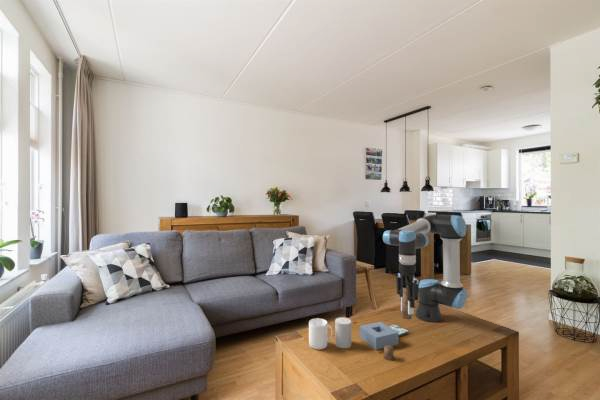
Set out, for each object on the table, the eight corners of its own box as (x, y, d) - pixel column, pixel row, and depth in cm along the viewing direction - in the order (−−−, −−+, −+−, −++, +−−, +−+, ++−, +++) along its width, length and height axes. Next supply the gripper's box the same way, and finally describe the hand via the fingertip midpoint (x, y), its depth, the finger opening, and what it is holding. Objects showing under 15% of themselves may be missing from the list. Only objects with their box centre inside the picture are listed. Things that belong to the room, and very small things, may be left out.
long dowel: (407, 315, 139) (407, 286, 139) (413, 318, 135) (413, 288, 135) (400, 316, 137) (400, 287, 137) (406, 319, 134) (406, 290, 133)
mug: (305, 342, 147) (305, 320, 147) (326, 338, 152) (326, 316, 152) (313, 351, 139) (313, 327, 138) (335, 346, 143) (335, 323, 143)
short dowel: (389, 354, 136) (389, 344, 136) (395, 359, 132) (395, 348, 132) (382, 356, 134) (382, 346, 134) (388, 361, 131) (388, 350, 131)
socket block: (380, 332, 159) (380, 321, 159) (398, 344, 146) (398, 332, 146) (359, 337, 153) (359, 325, 153) (376, 349, 140) (376, 337, 140)
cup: (341, 338, 152) (341, 316, 151) (354, 344, 146) (354, 320, 146) (331, 344, 146) (332, 320, 146) (344, 350, 140) (344, 325, 140)
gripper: (388, 260, 142) (388, 307, 143) (414, 268, 127) (414, 320, 127) (400, 259, 145) (400, 304, 146) (427, 266, 130) (427, 317, 130)
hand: (407, 312), depth 136 cm, fingers closed on long dowel, 4 cm apart
